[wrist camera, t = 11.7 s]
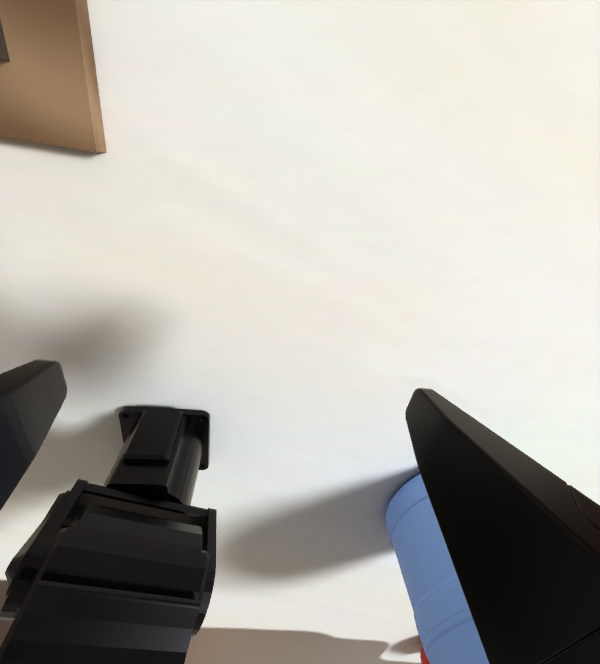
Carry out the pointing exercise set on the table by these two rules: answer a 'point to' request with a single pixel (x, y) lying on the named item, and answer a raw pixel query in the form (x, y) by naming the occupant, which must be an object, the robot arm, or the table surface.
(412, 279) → the table surface
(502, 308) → the table surface
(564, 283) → the table surface
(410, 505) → the water jug
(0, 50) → the grey cube shelf
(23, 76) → the post block
